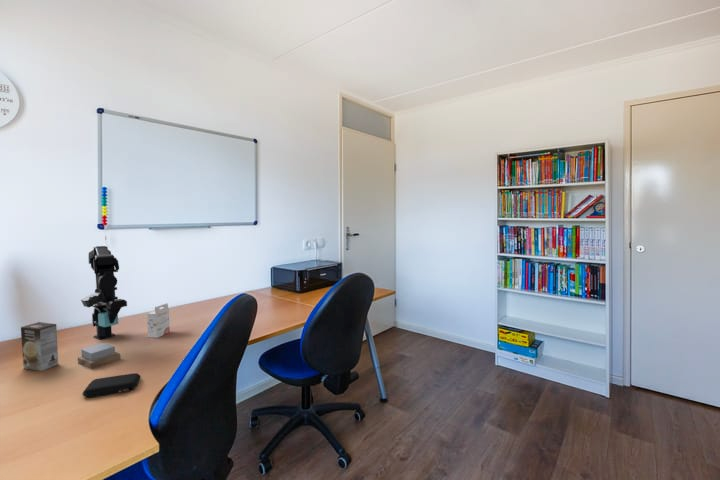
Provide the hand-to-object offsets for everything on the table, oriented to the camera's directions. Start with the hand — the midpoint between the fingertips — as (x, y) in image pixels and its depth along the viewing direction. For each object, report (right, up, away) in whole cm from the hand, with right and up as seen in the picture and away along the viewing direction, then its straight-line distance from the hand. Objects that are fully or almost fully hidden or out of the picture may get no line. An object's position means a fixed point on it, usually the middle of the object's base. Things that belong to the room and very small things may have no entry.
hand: (108, 322), depth 143 cm
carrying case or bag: (+24, -16, -30) cm, 41 cm away
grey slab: (+3, -11, -9) cm, 14 cm away
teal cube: (0, -1, 0) cm, 1 cm away
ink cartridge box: (+9, -11, +21) cm, 25 cm away
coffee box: (-16, -14, -13) cm, 25 cm away
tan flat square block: (+3, -14, -9) cm, 17 cm away
